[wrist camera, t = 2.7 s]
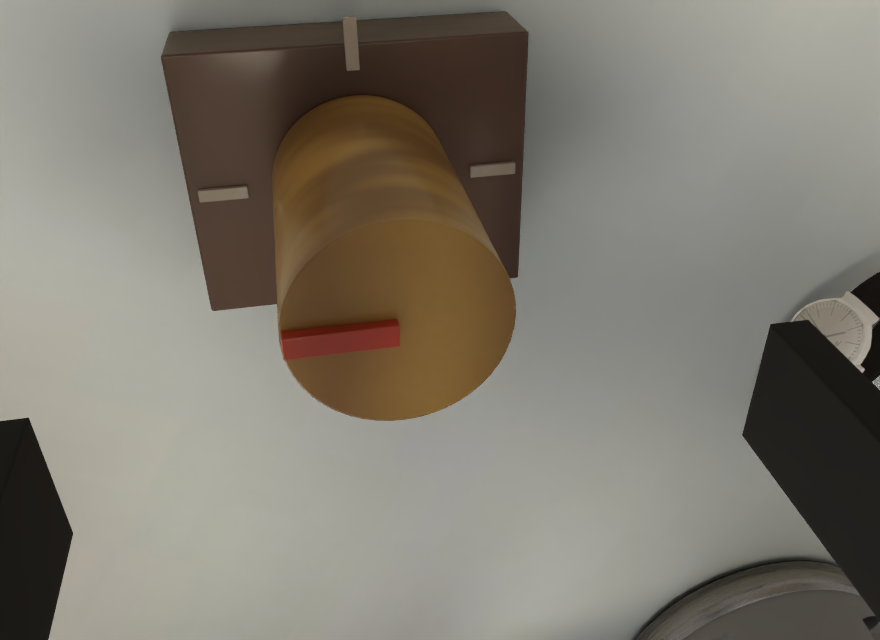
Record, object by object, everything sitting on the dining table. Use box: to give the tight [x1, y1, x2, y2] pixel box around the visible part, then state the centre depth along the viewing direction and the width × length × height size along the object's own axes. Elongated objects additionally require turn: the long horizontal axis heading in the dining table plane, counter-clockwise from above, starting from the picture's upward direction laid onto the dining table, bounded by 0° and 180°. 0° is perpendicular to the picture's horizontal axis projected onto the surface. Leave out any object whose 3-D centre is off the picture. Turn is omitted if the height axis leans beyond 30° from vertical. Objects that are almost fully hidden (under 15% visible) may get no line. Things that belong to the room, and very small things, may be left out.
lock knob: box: [272, 95, 516, 421], centre depth 21 cm, size 5×5×8 cm
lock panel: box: [161, 12, 529, 311], centre depth 25 cm, size 10×9×3 cm
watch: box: [790, 272, 880, 382], centre depth 33 cm, size 8×5×4 cm, turn 145°
